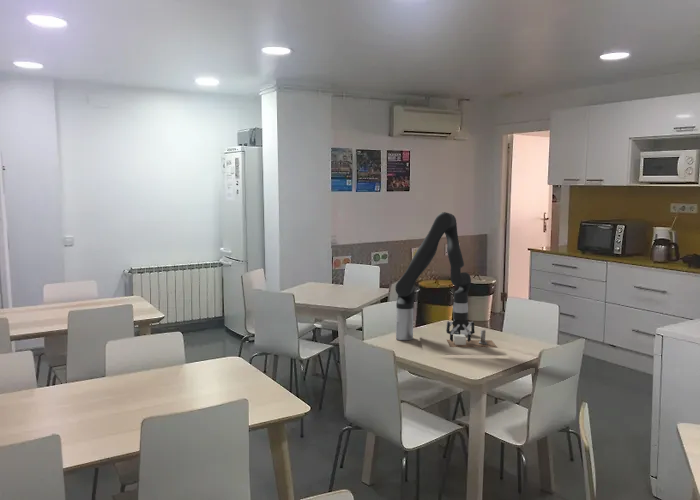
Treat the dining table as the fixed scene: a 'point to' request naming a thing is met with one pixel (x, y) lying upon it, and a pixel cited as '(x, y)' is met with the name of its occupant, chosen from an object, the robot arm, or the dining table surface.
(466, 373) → the dining table surface
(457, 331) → the medicine bottle
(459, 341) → the cap
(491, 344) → the post board
